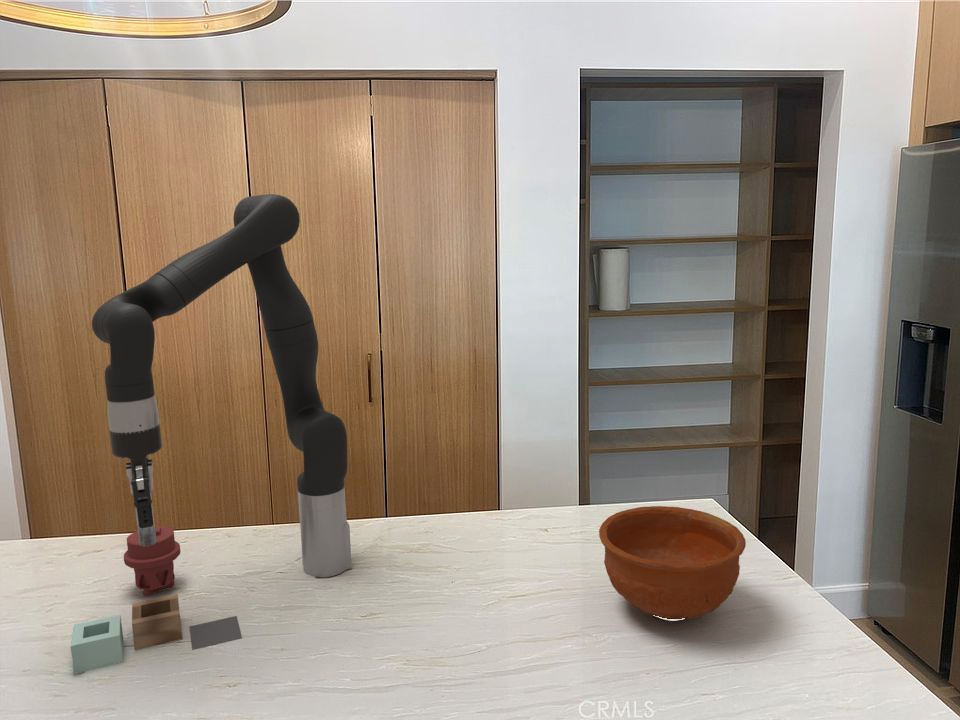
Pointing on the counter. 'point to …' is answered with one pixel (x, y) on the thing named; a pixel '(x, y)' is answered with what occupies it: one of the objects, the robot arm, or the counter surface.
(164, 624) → the wooden square frame
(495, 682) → the counter surface
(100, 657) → the teal block
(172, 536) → the mechanical component
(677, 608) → the bowl
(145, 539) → the cylinder
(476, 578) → the counter surface
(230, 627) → the mat
